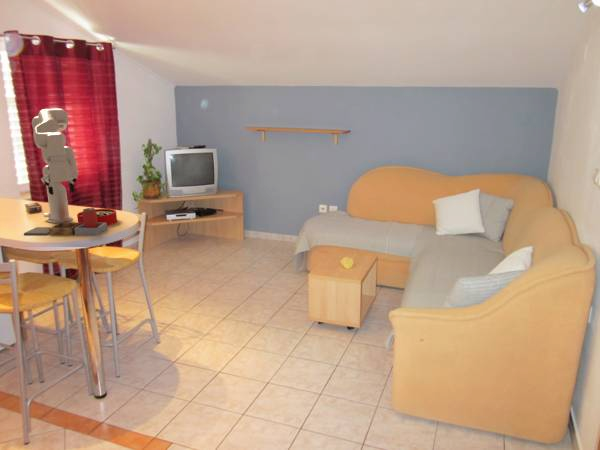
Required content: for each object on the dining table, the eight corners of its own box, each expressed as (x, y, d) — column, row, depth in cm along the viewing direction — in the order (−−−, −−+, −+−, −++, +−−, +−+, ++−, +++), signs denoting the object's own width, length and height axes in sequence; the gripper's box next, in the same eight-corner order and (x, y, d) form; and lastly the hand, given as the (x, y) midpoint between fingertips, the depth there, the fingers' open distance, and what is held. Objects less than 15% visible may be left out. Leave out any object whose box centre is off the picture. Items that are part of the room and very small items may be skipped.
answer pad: (24, 235, 258) (23, 233, 257) (37, 229, 269) (36, 227, 269) (47, 235, 257) (47, 233, 257) (59, 229, 269) (59, 227, 268)
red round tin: (99, 207, 293) (123, 211, 284) (100, 217, 295) (124, 221, 285) (68, 214, 276) (94, 218, 267) (70, 225, 278) (95, 229, 268)
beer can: (87, 230, 265) (84, 208, 262) (100, 230, 265) (97, 207, 262) (82, 233, 259) (80, 210, 256) (96, 233, 259) (93, 210, 256)
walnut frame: (49, 234, 257) (48, 228, 256) (61, 229, 268) (60, 222, 268) (72, 235, 257) (71, 228, 256) (82, 229, 268) (82, 222, 267)
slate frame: (75, 235, 257) (74, 228, 256) (85, 229, 268) (84, 222, 267) (97, 235, 256) (97, 228, 255) (107, 229, 267) (106, 222, 266)
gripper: (41, 161, 245) (46, 196, 249) (78, 158, 256) (82, 191, 261) (36, 160, 250) (41, 194, 255) (72, 156, 262) (76, 189, 266)
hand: (61, 193), depth 258 cm, fingers open, 9 cm apart
